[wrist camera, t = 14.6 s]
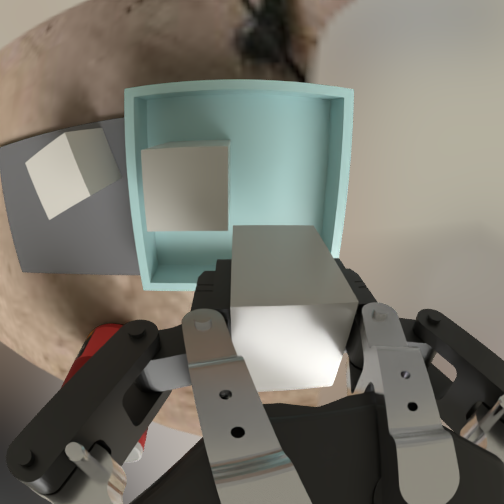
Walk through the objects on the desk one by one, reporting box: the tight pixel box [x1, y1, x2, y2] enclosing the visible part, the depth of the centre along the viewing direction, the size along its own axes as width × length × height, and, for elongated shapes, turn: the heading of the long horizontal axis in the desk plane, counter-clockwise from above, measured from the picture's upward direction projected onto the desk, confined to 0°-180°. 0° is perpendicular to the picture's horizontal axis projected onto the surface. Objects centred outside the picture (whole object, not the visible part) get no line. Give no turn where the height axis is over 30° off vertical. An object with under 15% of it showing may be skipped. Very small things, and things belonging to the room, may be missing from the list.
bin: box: [124, 79, 354, 291], centre depth 18 cm, size 13×13×3 cm
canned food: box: [61, 324, 148, 462], centre depth 20 cm, size 8×8×11 cm
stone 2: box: [141, 140, 231, 232], centre depth 15 cm, size 4×4×6 cm
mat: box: [0, 117, 141, 275], centre depth 19 cm, size 14×12×1 cm
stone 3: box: [230, 225, 358, 392], centre depth 12 cm, size 4×4×6 cm
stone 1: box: [25, 128, 122, 220], centre depth 15 cm, size 4×4×5 cm
